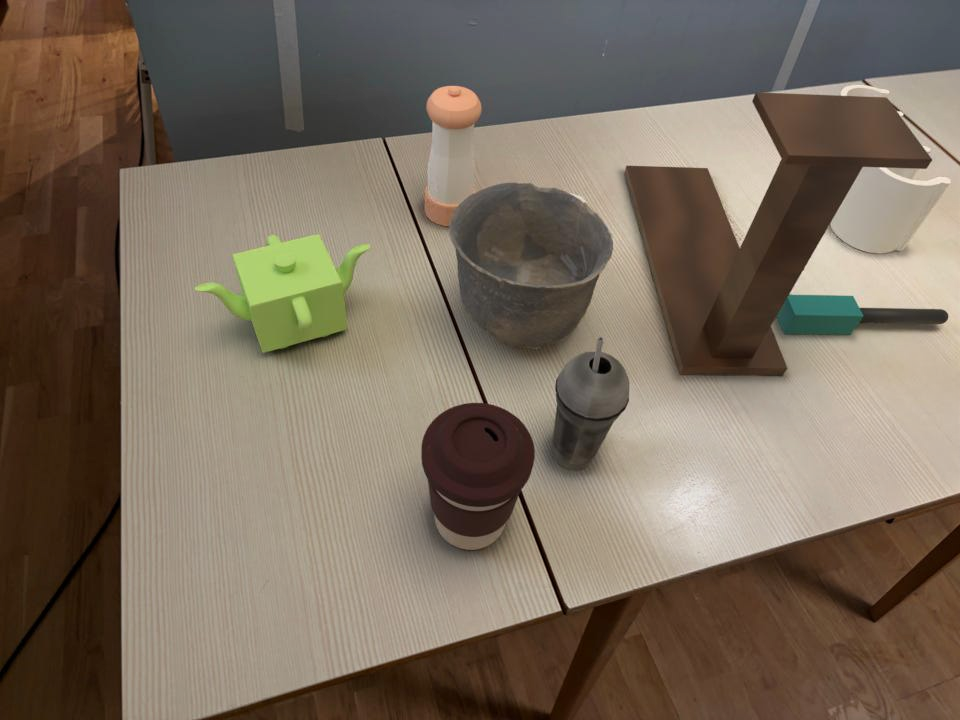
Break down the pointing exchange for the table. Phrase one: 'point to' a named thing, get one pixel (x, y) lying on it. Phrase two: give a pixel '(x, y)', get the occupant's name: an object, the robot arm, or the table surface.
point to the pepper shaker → (450, 151)
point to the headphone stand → (758, 227)
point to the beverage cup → (587, 405)
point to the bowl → (528, 261)
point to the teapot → (290, 290)
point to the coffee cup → (475, 471)
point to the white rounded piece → (884, 200)
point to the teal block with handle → (845, 315)
